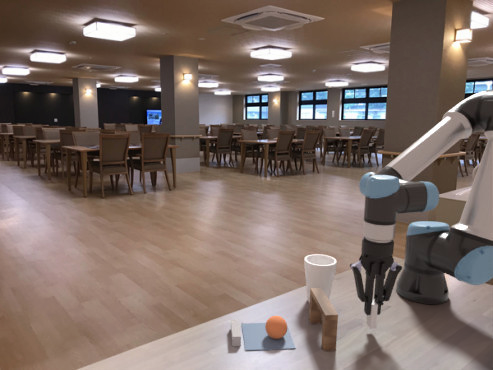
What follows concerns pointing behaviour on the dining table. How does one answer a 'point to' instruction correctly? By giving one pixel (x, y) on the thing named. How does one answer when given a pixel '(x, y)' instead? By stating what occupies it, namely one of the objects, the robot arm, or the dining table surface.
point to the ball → (276, 327)
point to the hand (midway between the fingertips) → (371, 325)
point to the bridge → (324, 318)
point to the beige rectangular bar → (235, 333)
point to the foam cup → (319, 273)
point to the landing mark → (264, 338)
